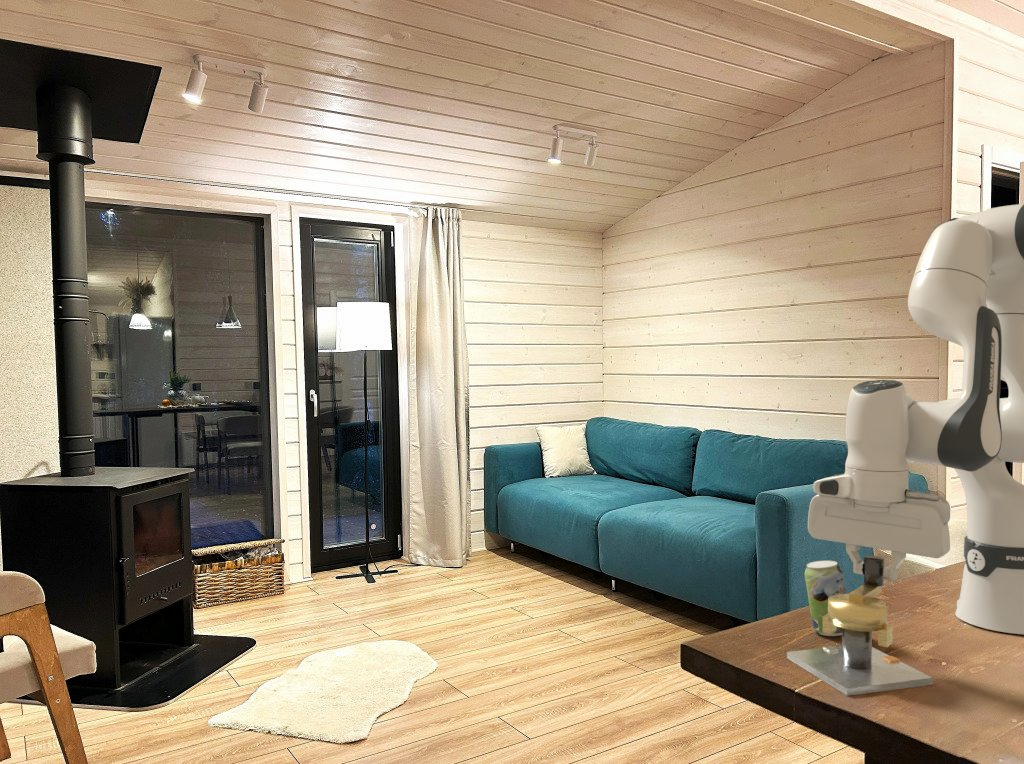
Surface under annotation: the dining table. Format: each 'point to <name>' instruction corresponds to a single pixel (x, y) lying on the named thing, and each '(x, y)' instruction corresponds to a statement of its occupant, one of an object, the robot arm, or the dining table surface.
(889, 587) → the dining table surface
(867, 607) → the brass crank handle
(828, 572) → the beverage can
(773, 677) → the dining table surface
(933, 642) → the dining table surface
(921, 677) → the post plate
